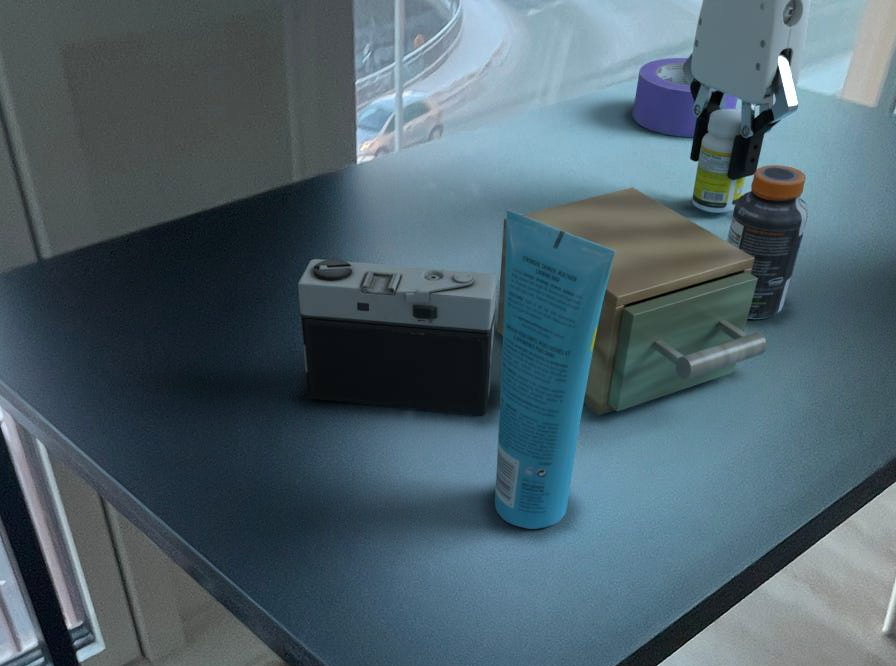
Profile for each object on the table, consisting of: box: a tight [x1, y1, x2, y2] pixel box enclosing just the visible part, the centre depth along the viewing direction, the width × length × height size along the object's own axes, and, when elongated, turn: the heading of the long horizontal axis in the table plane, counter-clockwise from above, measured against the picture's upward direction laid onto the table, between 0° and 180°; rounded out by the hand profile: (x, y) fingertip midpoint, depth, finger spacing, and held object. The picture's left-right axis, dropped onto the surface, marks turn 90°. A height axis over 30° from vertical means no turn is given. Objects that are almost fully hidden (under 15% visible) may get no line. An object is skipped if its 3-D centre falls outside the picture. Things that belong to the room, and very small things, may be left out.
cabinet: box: [496, 187, 754, 416], centre depth 80 cm, size 15×13×10 cm
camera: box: [297, 258, 498, 416], centre depth 76 cm, size 14×8×10 cm, turn 80°
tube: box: [494, 209, 616, 530], centre depth 62 cm, size 7×5×19 cm, turn 52°
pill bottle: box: [726, 164, 809, 320], centre depth 85 cm, size 6×6×11 cm
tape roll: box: [632, 57, 738, 138], centre depth 119 cm, size 12×12×5 cm
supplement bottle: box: [691, 108, 746, 214], centre depth 99 cm, size 5×5×8 cm
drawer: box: [608, 272, 768, 412], centre depth 77 cm, size 18×11×8 cm, turn 29°
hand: (722, 165), depth 100 cm, fingers closed on supplement bottle, 4 cm apart
